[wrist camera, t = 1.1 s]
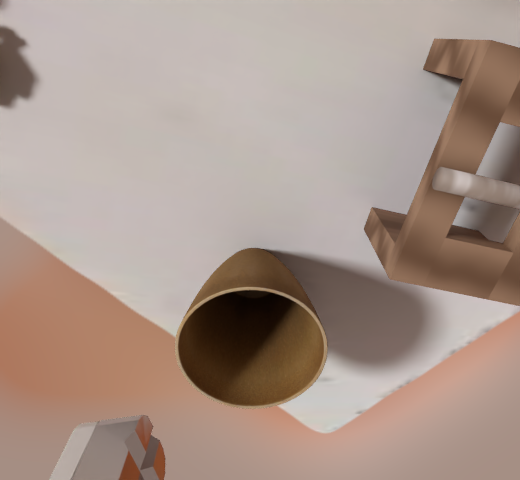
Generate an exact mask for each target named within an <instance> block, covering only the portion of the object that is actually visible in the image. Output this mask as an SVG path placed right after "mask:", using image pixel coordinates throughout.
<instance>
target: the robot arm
mask: <svg viewBox="0 0 520 480" xmlns="http://www.w3.org/2000/svg"><path fill="white" fill-rule="evenodd" d="M152 429H153V425H152V423H151V421H150V419H149V417H148V416H146V415H139V416H132V417H124V418H116V419H110V420H102V421H98V422H90V423H83V424H79V425H78V426H77V427H76V428H75V429H74V430H73V432H72V434H71V436H70V438H69V440H68V442H67V444H66V446H65V448H64V450H63V453H62V454H61V456H60V458H59V461H58V463H57V465H56V467H55V469H54V471H53V473H52V475H51V477H50V479H49V480H164V476H165V455H164V450H163V447H162V445H161V442H160V440H158V439H157V438H155V437H153V436H152V435H151V432H152Z"/></svg>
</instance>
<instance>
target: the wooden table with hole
mask: <svg viewBox="0 0 520 480" xmlns="http://www.w3.org/2000/svg"><path fill="white" fill-rule="evenodd" d="M423 70H427V71H431V72H435V73H439V74H443V75H447V76H450V77H454V78H458V79H462V80H463V81H462V83H461V85H460V88H459V90H458V93H457V95H456V98H455V100H454V102H453V105H452V107H451V110H450V112H449V115H448V117H447V119H446V122H445V124H444V127H443V129H442V131H441V134H440V136H439V139H438V141H437V144H436V146H435V148H434V151H433V153H432V156H431V158H430V160H429V163H428V165H427V168H426V170H425V173H424V175H423V177H422V180H421V182H420V185H419V187H418V190H417V192H416V194H415V197H414V199H413V202H412V204H411V206H410V209H409V211H408V214H407V215H405V214H400V213H396V212H391V211H387V210H382V209H377V208H373V207H372V208H371V211H370V214H369V216H368V219H367V222H366V225H365V227H364V230H365V232H366V234H367V236H368V238H369V240H370V242H371V244H372V246H373V248H374V250H375V252H376V254H377V256H378V257H379V259H380V261H381V263H382V265H383V267H384V269H385V271H386V273H387V275H388V277H389V279H391V280H396V281H401V282H405V283H410V284H415V285H420V286H425V287H430V288H435V289H439V290H444V291H449V292H454V293H459V294H464V295H469V296H473V297H478V298H483V299H488V300H493V301H498V302H503V303H508V304H512V305H517V306H520V213H519V215H518V216H517V218H516V220H515V222H514V224H513V226H512V228H511V229H510V231H509V233H508V235H507V237H506V239H505V241H504V242H503V243H499V242H494V241H490V240H488V239H487V238H486V237H485V236H484V235H482V234H481V233H480V232H479V231H477V230H472V229H468V228H463V227H459V226H454V225H452V223H453V221H454V219H455V217H456V214H457V212H458V210H459V208H460V206H461V204H462V202H463V199H464V197H469V198H473V199H477V200H482V201H486V202H490V203H495V204H499V205H504V206H508V207H512V208H517V209H520V185H517V184H513V183H508V182H504V181H500V180H496V179H491V178H487V177H483V176H479V175H475V174H476V172H477V170H478V167H479V165H480V163H481V161H482V159H483V157H484V155H485V153H486V150H487V148H488V146H489V144H490V142H491V140H492V138H493V136H494V133H495V131H496V129H497V127H498V125H499V123H500V122H502V123H506V124H510V125H514V126H518V127H520V48H518V47H515V46H511V45H507V44H503V43H500V42H496V41H492V40H462V39H434V41H433V44H432V46H431V49H430V52H429V55H428V57H427V60H426V63H425V65H424V68H423Z"/></svg>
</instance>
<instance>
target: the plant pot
mask: <svg viewBox="0 0 520 480" xmlns="http://www.w3.org/2000/svg"><path fill="white" fill-rule="evenodd" d="M248 290H249V291H248ZM327 348H328V345H327V338H326V334H325V331H324V329H323V326H322V324H321V322H320V320H319V317H318V315H317V313H316V311H315V309H314V307H313V305H312V303H311V301H310V300H309V298H308V296H307V294H306V293H305V291H304V289H303V288H302V286H301V285H300V283H299V282H298V281H297V279H296V278H295V277H294V275H293V274H292V273H291V272H290V270H289V269H288V268H287V267H286V266H285V265H284V264H283V263H282V262H281V261H280V260H279V259H277V258H276V257H275V256H274V255H272V254H271V253H269V252H268V251H265V250H262V249H258V248H248V249H244V250H241V251H239V252H237V253H236V254H234V255H233V256H231V257H230V258H229V259H227V260H226V261H225V262H224V263H223V264H222V265H221V266H220V267H219V268H218V269H217V270H216V271H215V272H214V273H213V274H212V275H211V276H210V278H209V279H208V280H207V281H206V283H205V284H204V285H203V287H202V288H201V290H200V291H199V293H198V294H197V296H196V297H195V299H194V301H193V302H192V304H191V306H190V308H189V309H188V311H187V313H186V315H185V316H184V318H183V320H182V322H181V324H180V326H179V329H178V331H177V335H176V340H175V353H176V359H177V363H178V365H179V368H180V370H181V372H182V373H183V375H184V377H185V378H186V379H187V381H188V382H189V383H190V384H191V385H192V386H193V387H194V388H195V389H196V390H197V391H199V392H200V393H201V394H203V395H204V396H206V397H208V398H209V399H211V400H213V401H216V402H218V403H221V404H224V405H227V406H232V407H237V408H246V409H256V408H267V407H272V406H276V405H280V404H282V403H285V402H288V401H290V400H292V399H294V398H296V397H297V396H299V395H301V394H302V393H303V392H305V391H306V390H307V389H308V388H309V387H311V386H312V385H313V383H314V382H315V381H316V380H317V378H318V377H319V375H320V374H321V372H322V370H323V368H324V365H325V362H326V358H327Z"/></svg>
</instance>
